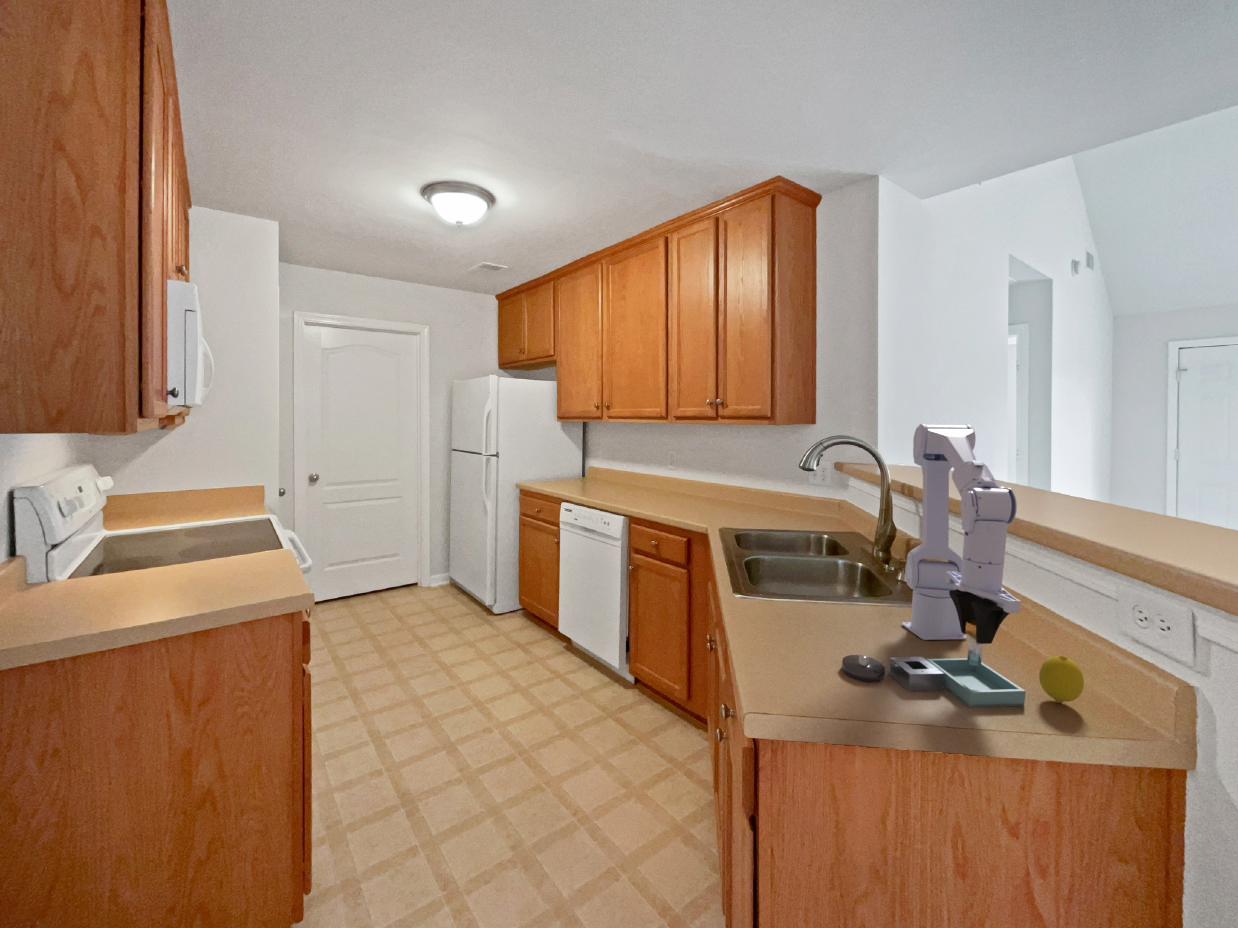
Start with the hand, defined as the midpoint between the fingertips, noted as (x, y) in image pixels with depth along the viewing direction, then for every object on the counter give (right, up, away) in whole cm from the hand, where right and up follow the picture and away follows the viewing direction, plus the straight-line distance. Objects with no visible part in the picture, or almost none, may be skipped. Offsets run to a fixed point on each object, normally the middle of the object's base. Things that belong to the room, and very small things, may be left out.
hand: (976, 637), depth 90 cm
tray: (0, -9, +1) cm, 9 cm away
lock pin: (0, -5, +1) cm, 4 cm away
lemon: (+11, -10, -3) cm, 15 cm away
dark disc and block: (-13, -8, +5) cm, 16 cm away
